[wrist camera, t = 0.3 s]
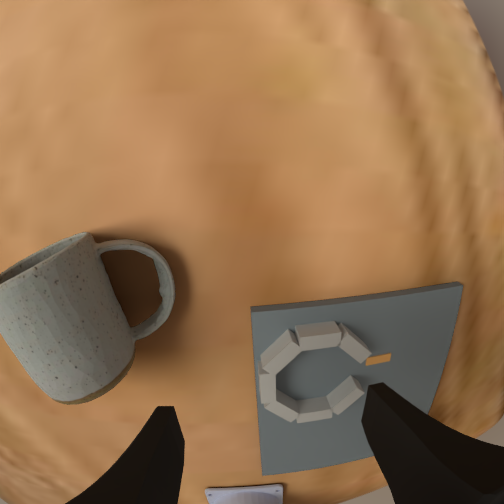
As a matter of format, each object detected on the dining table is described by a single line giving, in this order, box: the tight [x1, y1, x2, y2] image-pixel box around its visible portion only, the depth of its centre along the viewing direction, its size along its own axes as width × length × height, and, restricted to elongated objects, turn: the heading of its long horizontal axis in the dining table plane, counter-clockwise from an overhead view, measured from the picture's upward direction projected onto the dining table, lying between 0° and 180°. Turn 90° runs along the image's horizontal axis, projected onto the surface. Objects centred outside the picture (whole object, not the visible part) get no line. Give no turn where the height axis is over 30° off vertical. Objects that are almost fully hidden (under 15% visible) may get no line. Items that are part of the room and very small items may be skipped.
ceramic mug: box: [0, 232, 175, 405], centre depth 16 cm, size 11×8×8 cm
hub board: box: [251, 282, 463, 476], centre depth 22 cm, size 18×16×2 cm
